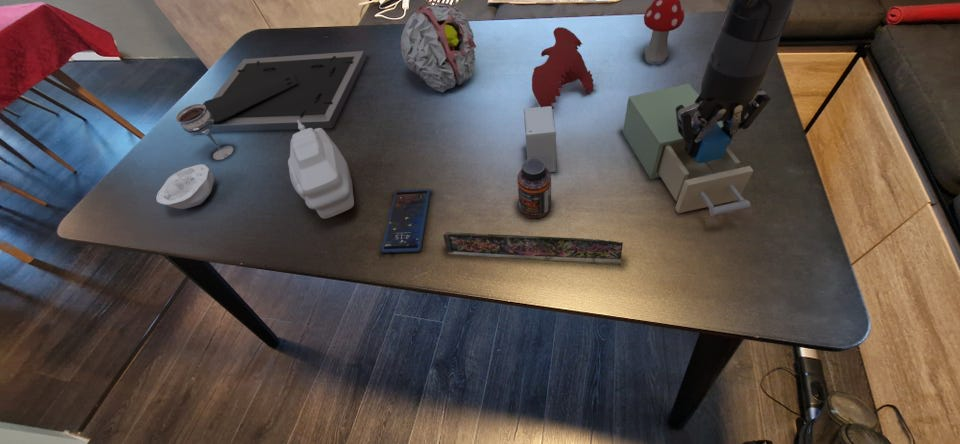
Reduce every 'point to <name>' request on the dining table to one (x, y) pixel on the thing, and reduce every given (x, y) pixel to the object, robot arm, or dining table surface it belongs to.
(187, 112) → the wineglass
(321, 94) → the picture frame
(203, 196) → the cell model
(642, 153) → the drawer cabinet
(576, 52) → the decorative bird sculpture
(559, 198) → the dining table surface
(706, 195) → the beige drawer
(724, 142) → the matte blue cube
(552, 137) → the small box
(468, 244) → the incense holder
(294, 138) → the white tiered sculpture
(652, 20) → the decorative mushroom
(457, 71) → the decorative sculpture
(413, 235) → the smartphone
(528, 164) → the supplement bottle
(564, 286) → the dining table surface
